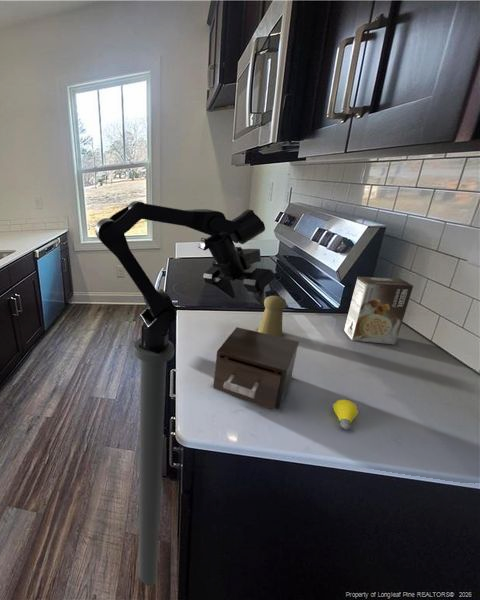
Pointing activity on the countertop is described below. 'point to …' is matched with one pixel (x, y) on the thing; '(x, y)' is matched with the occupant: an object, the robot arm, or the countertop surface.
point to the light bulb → (345, 412)
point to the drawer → (247, 381)
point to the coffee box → (377, 309)
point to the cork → (272, 316)
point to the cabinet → (262, 354)
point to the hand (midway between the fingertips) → (247, 300)
